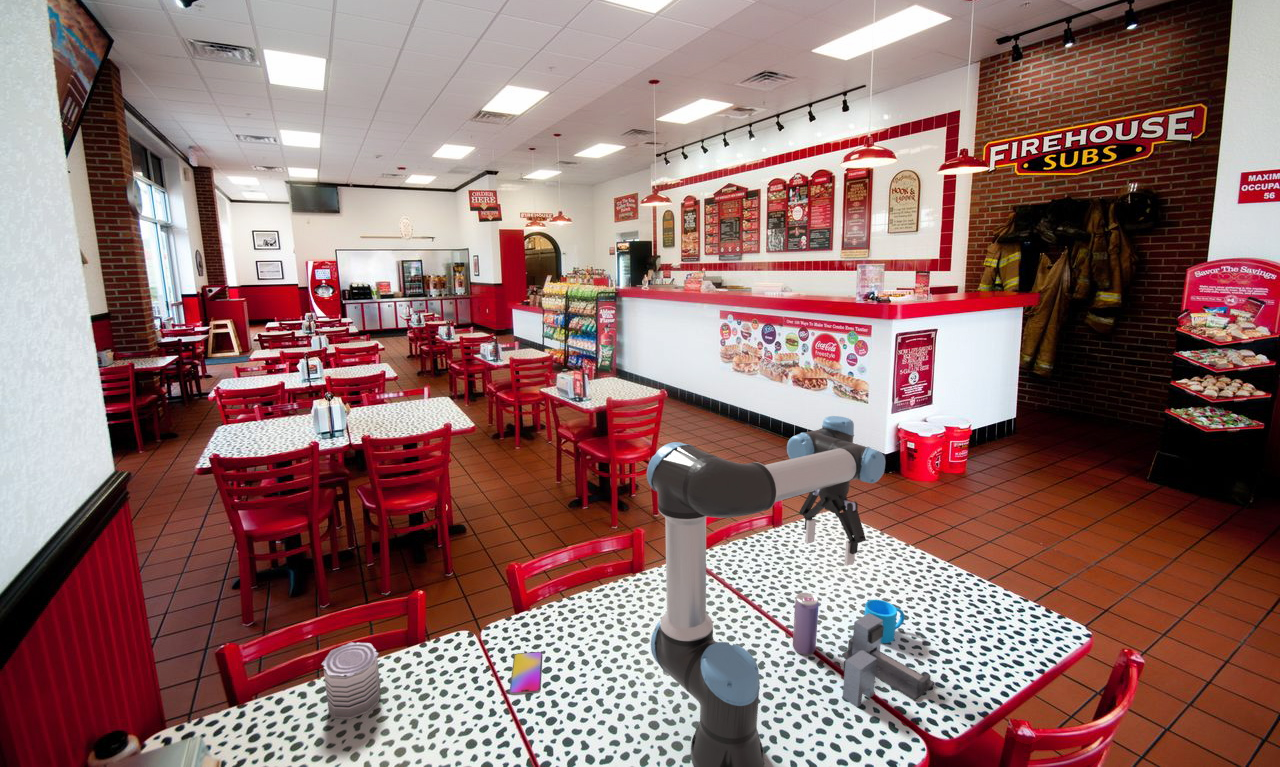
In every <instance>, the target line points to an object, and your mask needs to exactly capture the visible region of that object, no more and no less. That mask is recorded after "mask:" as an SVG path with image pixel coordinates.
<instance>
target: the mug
mask: <svg viewBox="0 0 1280 767" xmlns="http://www.w3.org/2000/svg"><path fill="white" fill-rule="evenodd" d="M868 613H870V614H872V615H874V616H876V617H878V618H880V619H882V620H883V625H882V626H884V629H883V637H882V638H881V644H890V643H893V641H894V640H895V636H896V635H895V634H896V630H897V629H899V628H900V627H901V626H902V625H903V624H904V622H905V613H904V612H903V610H902V609H901V608H899V607H895V605H894V604H892V603H890V602H888V601H886V600H881V599H870V600H867V601H866V602H865V605H864V616H865V615H867V614H868ZM898 613H899V614H900V618H899V619H898V621H897V618H898Z"/></svg>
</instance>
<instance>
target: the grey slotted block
mask: <svg viewBox="0 0 1280 767" xmlns="http://www.w3.org/2000/svg"><path fill="white" fill-rule="evenodd" d="M864 615H865V614H864ZM882 625H883V620H882V619H880V618H878V617H876V616H874V615H872V614H870V613H868V614H867V615H865V616H862V617H860V618H859V619H856V620H855V621H854V624H853V637H851V638H850V639H848V644H847V645H848V646H847V650H846V651H844V652H843V653H841V657H842V658H843V657H844V659H845V660H847V659H848V658H850V657H851V656H853V655H854V654H856V653H858V652H859V651H861V650H863V651H865V652H867V653H868V654H870V655H872V656H873V657H875V658H877V663H876V673H875V679H876V678H877V679H878V680H880V681H881V682H883V683H884V684H886V685H888V686H889V687H891V688H893V689H894V690H896V691H898V692H900V693H901V694H903V695H905V696H906V697H907V698H910V700H912V701H914V702H916V701H917V700H918V699H920V698H921V697H922V696H923V695H924V694H926V693H927V692H928V691H929V690H931V689H932V688H933V687H934V686H935V681H933V680H932V678H931V675H930V674H928V673H926V674H924V675H922V673H921V674H920V673H919V672H917V671H915V670H914V669H912V668H910V667H909V666H907V665H905V664H903V663H901V662H900V661H898V660H896V659H894V658H892V657H891V656H889V655H887V654H886V653H884V652H882V651H881V645H882V643H881V638H882V637H883V629H884V626H882Z"/></svg>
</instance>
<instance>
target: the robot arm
mask: <svg viewBox="0 0 1280 767" xmlns="http://www.w3.org/2000/svg"><path fill="white" fill-rule="evenodd" d="M854 430H855V425H854V421H853V420H852V419H851V418H849V417H846V416H845V417H844V416H839V415H838V416H837V415H831V416H826V417H825V418H824V419H823V421H822V424H821V428H819V429H816V430H815V429H814V430H811V431H806V432H800V433H798V434H796V435H793V436H792V437H790V438H789V440H788V441H787V444H786V452H787V456H788V458H789V459H786V460H781V461H777V462H773V463H768V464H767V463H766V464H763V463H761V462H756V461H754V462H752V461H751V462H749V463H740V462H735V461H731V460H727V459H725V458H724V457H723V458H722V457H719V456H717V455H714V454H711V453H709V452H707V451H704V450H701V449H699V448H696V447H695V446H693V445H691V444H688V443H683V442H679V441H674V442H668V443H666V444H664V445H663V446H661V447H659V449H658V450H657V451H656V453H655V454H654V455H652V456H651V459H650V460H649V462H648V465H647V469H646V480H647V483H648V485H649V487H650V488H651V489H652V490H653V491H654V492H657V510H658V513H660V514H661V515H662V516H663V517H664V518H665V519H664V520H665V525H664V526H665V564H666V565H665V577H666V578H665V579H666V580H665V582H666V591H665V592H666V612H665V613H664V614H663V615H662V616H661V619H660V620H659V621H658V622H657V624H655V631H652V634H651V638H650V651H651V654H652V657H653V659H654V661H655V662H656V663H657V664H658V665H659V667H660V668H661V670H663V671H664V672H665V673H667V674H668V675H669V676H670V677H671V678H672V679H673V680H675V682H676V683H678V684H679V685H680V686H681V687H682V688H683V689H684V690H685V691H686V692H688V693H689V694H690V695H691V696H692V697H693V698H694V699H695V700H696V701H697V702H698V703H699V705H700V707H699V715H700V716H699V722H698V724H697V727H696V729H695V731H694V733H693V736H692V739H691V741H690V742H691V744H690V760H691V763H692V767H764V765H765V764H764V761H765V751H764V747H763V744H762V741H761V738H760V734H759V731H758V729H757V728H758V711H759V699H760V697H759V696H760V688H761V687H760V685H761V683H760V674H759V673H760V672H759V671H760V670H759V667H758V663H757V662H756V660H755V658H754V657H753V656H752V654H751V653H750V652H749V651H748V650H746V649H745V648H744V647H742V646H740V645H739V644H736V643H733V644H730V642H727V641H719V642H717V641H716V640H715V639H714V623H713V619H712V618H711V616H710V615H709V614H708V613H707V518H718V519H724V518H725V519H727V518H729V519H730V518H738V517H745V516H749V515H754V514H759V513H762V512H765V511H768V510H770V509H772V507H773V506H774V505H775V503H777V502H781V501H783V500H786V499H790V498H794V497H797V496H801V495H805V494H808V495H807V497H806V499H805V501H804V502H803V504H802V506H801V507H800V510H799V513H798V514H800V515H801V516H803V518H804V530H805V541H804V543H805V544H808V545H809V544H812V543H814V542H815V539H816V538H815V536H816V524H817V522H816V521H817V520H816V518H815V516H817V515H818V514H819V513H820V512H821V511H822V510H823V509H825V510H826V511H829V512H831V513H833V514H835V516H836V517H837V518H838V520H839V522H840V524H841V527H842V529H843V530H844V532H845V534H846V537H847V540H846V541H845V551H844V552H845V555H844V564H843V565H844V566H847V567H848V566H851V565H853V564H855V559H856V558H855V557H856V554H857V553H858V549H859V547H858V546H859V545H858V544H859V543H863V542H866V539H867V538H866V535H865V532H864V527H863V525H862V522H861V518H860V514H859V510H858V507H859V506H858V502H857V501H849V500H848V497H847V496H848V495H849V491H850V483H851V481H854V480H859V481H861V482H863V483H868V484H876V483H877V482H878V481H879V480H880V479H881V478H882V477H883V475H884V473H885V469H886V458H885V455H884V454H883V453H882V451H879V450H877V449H874V448H872V447H870V446H865V445H861V444H859V443H855V442H854V436H855V434H854V433H855V432H854ZM818 498H819V501H818V502H817V503H816V501H817V499H818ZM815 503H816V504H815ZM814 504H815V505H814Z"/></svg>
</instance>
